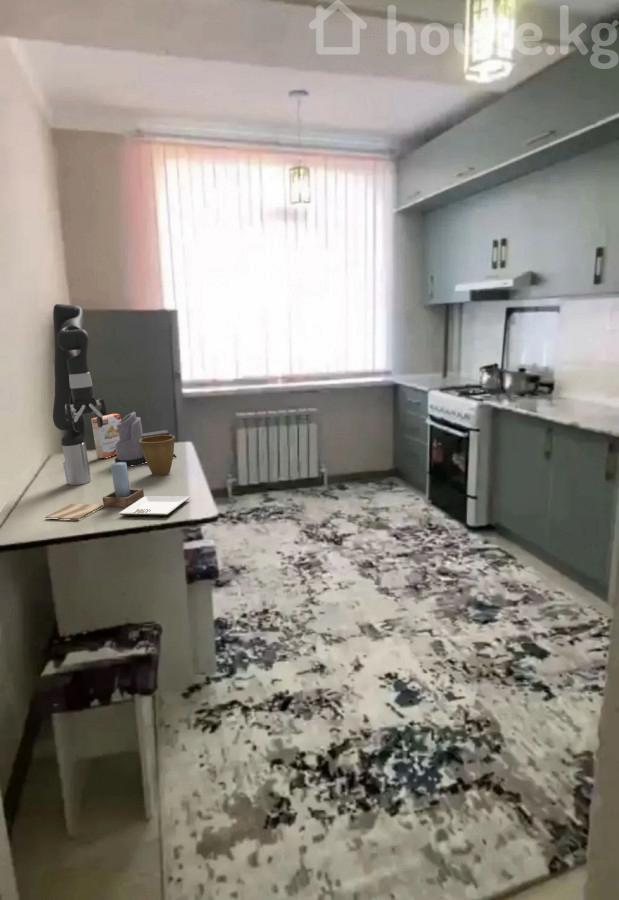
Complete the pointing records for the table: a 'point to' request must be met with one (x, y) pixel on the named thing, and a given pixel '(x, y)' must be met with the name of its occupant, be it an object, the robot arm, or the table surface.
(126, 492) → the cylinder
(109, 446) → the cracker box
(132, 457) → the grey boots
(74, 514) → the wooden board
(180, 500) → the plate
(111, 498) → the holder
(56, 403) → the robot arm
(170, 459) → the plant pot
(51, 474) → the table surface
